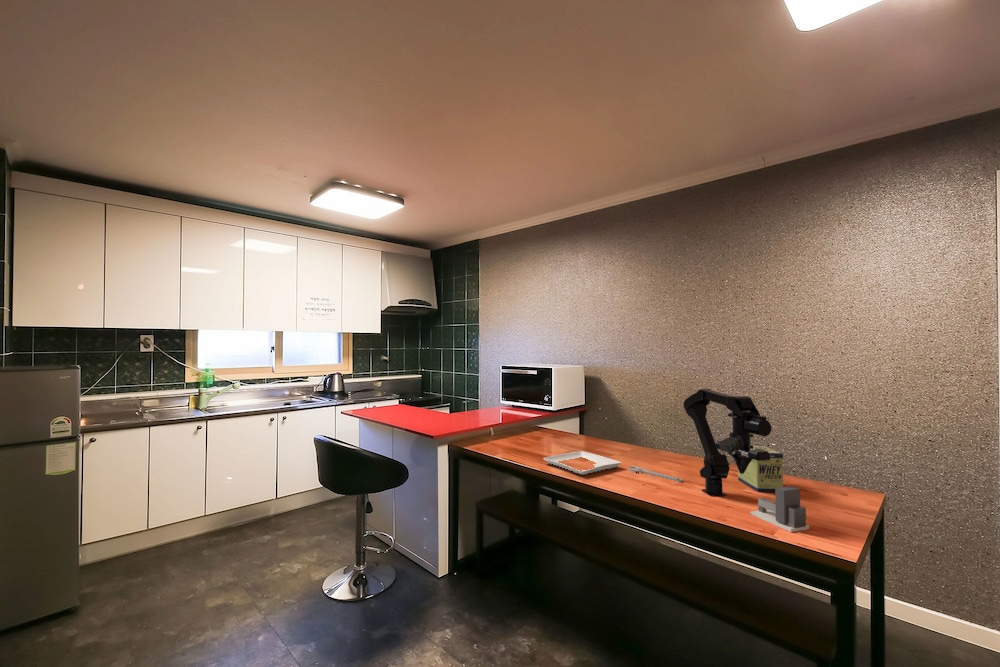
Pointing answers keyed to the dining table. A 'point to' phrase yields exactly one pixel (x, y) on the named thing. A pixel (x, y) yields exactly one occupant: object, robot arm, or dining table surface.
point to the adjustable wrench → (653, 473)
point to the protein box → (764, 472)
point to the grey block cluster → (794, 512)
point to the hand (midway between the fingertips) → (741, 473)
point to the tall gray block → (785, 501)
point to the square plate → (600, 461)
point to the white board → (771, 518)
